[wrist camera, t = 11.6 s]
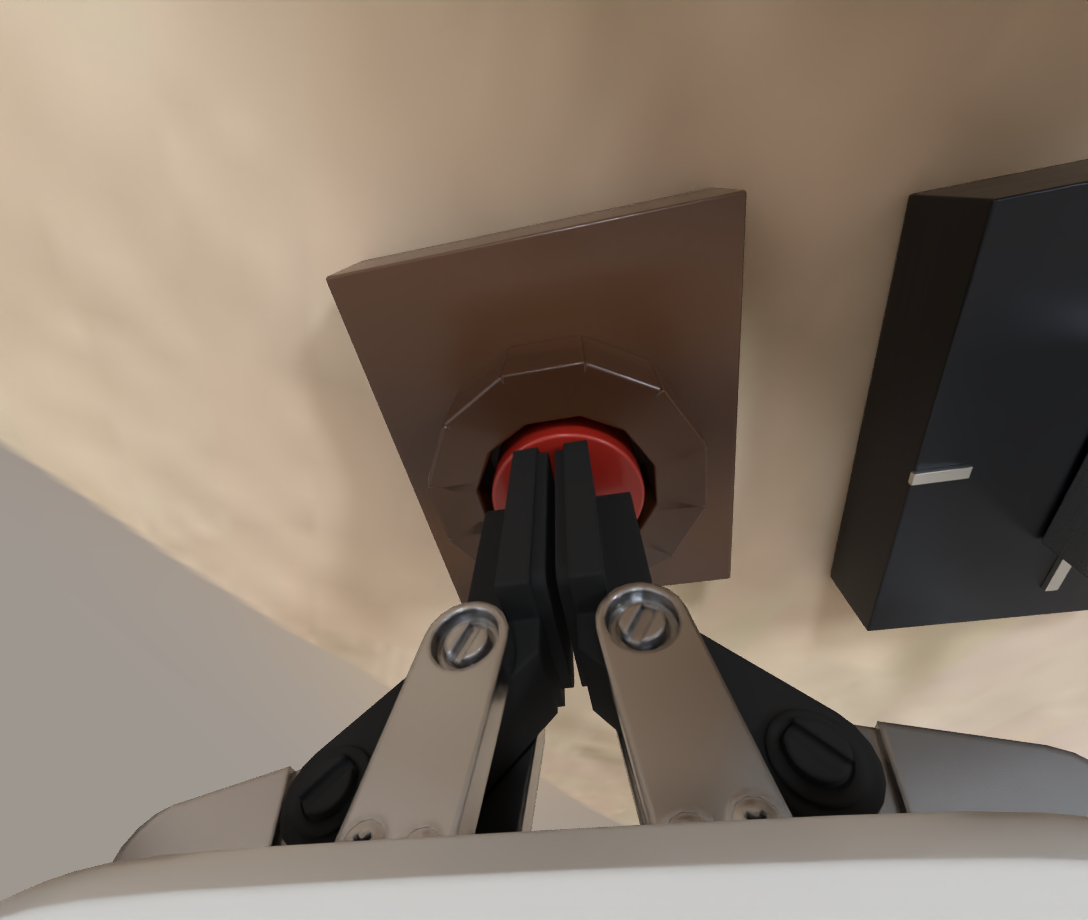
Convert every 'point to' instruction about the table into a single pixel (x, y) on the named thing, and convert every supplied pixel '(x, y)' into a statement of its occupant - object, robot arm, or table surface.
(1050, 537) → the rotary selector knob
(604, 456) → the button
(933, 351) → the tap console
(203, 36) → the table surface
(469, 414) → the control block
